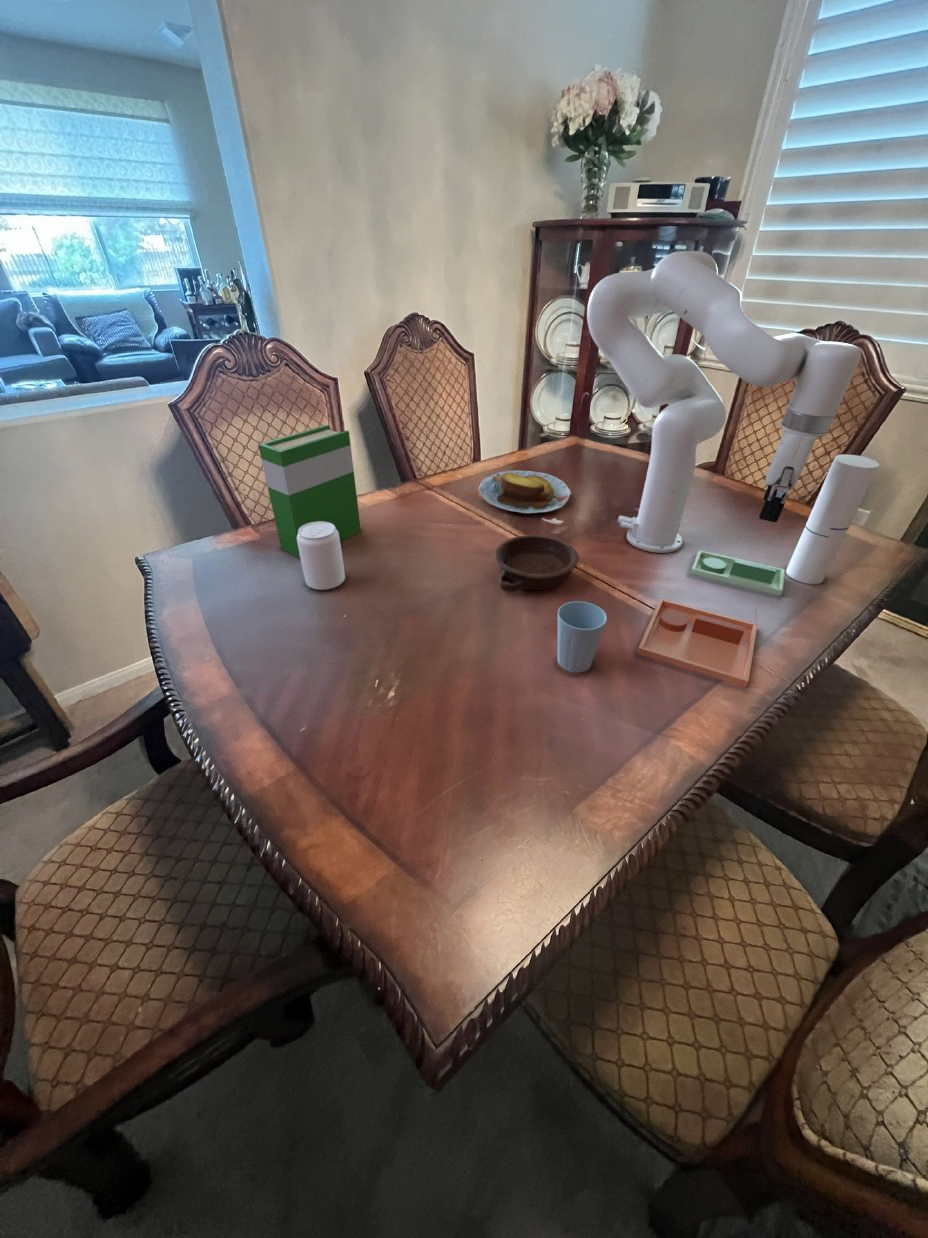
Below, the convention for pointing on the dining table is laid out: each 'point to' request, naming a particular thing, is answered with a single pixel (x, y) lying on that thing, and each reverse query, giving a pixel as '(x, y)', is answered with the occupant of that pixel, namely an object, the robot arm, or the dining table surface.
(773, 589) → the sage tray
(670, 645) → the terracotta tray
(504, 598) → the dining table surface
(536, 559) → the dish
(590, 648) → the cup
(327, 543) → the beverage can
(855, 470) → the cylindrical container
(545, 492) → the food on plate
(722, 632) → the terracotta cylinder and block
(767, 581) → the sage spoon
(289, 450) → the hardback book
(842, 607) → the dining table surface
